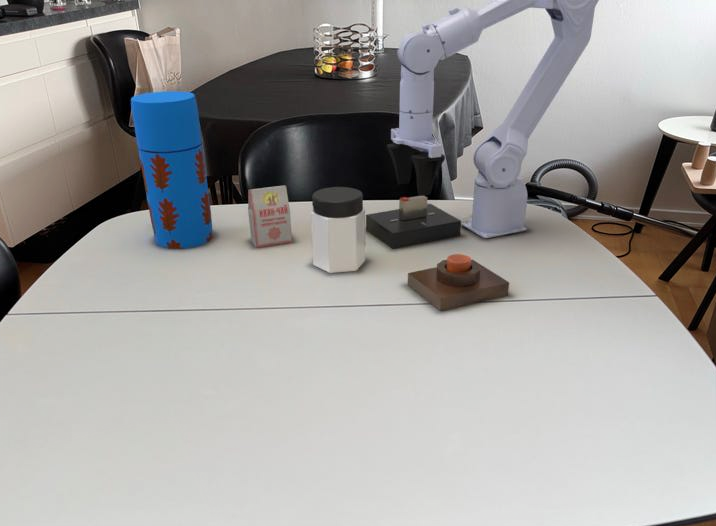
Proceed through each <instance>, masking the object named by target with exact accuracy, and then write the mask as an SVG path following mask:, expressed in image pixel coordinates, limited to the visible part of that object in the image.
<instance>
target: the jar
mask: <svg viewBox="0 0 716 526" xmlns="http://www.w3.org/2000/svg"><path fill="white" fill-rule="evenodd" d="M311 202H312V204H311V205H312V211H311V212H310V224H311V225H310V226H311V245H312V246H311V247H312V248H311V249H312V264H313V266H314V267H316V268H318V269H320V270H323V271H325V272H327V273H328V274H336V273H347V272H348V273H349V272H357V271H358V269H359V268H360V267H361V266H362V265H363V264H364V263H365V262H366V208H365V207H363V206H364V194H363V192H362V191H361V190H360V189H357V188H353V187H347V186H332V187H324V188H321V189H318V190H316V191H315V192H313V194H312V200H311Z"/></svg>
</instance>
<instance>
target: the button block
mask: <svg viewBox="0 0 716 526" xmlns="http://www.w3.org/2000/svg"><path fill="white" fill-rule="evenodd" d="M407 287H409V288H410V289H411V290H413V292H415V293H416V294H417V295H419V296H420V297H421V298H423V299H424V300H425V301H426V302H428V303H429V304H430V305H431V306H433V307H434V308H436V309H437V310H438V311H439V312H444V311H447V310H452V309H456V308H461V307H464V306H469V305H473V304H476V303H477V304H478V303H481V302H487V301H489V300H490V301H491V300H494V299H498V298H502V297H503V298H504V297H507V296H509V288H510V281H508V280H506V279H505V278H503V277H502V276H500V275H499V274H496V273H495V272H493V271H492V270H490V269H489V268H487V267H485V266H484V265H482V264H480V263H479V262H477V261H476V260H474V259H471V267H470V271H468V272H452V271H449V270H447V259H443V260H441V261H440V262H438V263H436V266H435V267H429V268H426V269H421V270H420V269H419V270H415V271H411V272H408V273H407Z"/></svg>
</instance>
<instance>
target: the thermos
mask: <svg viewBox="0 0 716 526" xmlns="http://www.w3.org/2000/svg"><path fill="white" fill-rule="evenodd" d="M130 107H131V109H130V110H131V116H132V120H133V127H134V133H135V138H136V145H137V147H138V149H137V150H138V155H139V159H140V160H139V161H140V167H141V172H142V178H143V183H144V190H145V194H146V195H145V196H146V200H147V206H148V211H149V219H150V222H151V227H152V231H153V235H154V241H155V243H156V244H157V245H158V246H160V247H162V248H166V249H176V250H177V249H178V250H179V249H189V248H195V247H199V246H203V245H205V244H207V243H209V242H210V241H211V240H212V239H213V235H214V234H213V233H214V232H213V221H212V210H211V209H212V208H211V203H210V201H211V200H210V194H209V187H208V179H207V170H206V163H205V156H204V148H203V147H204V146H203V141H202V140H203V139H202V132H201V131H202V130H201V124H200V116H199V108H198V103H197V98H196V94H194V93H193V92H188V91H181V90H180V91H178V90H171V91H170V90H165V91H154V92H145V93H141V94H138V95H135V96H132V97H131V99H130Z"/></svg>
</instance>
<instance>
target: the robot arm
mask: <svg viewBox="0 0 716 526" xmlns="http://www.w3.org/2000/svg"><path fill="white" fill-rule="evenodd" d="M599 1H600V0H490V1H488V2H486V3H485V4H483V5H481V6H479V7H478V8H476V9H475V10H474V9H472V8H470V7H467V6H462V7H461V8H459V7H458V6H453V7H452V8H450V9H449V10H448V13H449V14H447V15H445V16H444V17H441V18H439V19H438V20H436V21H434V22H432V23H428V22H426V23H424V24H422V25H421V29H422V32H421V31H412V32H409V33H408V34H406V35H405V36H403V38H402V40H401V41H400V43H399V46H398V47H399V48H398V49H397V50H396V53H397V58H398V60H399V62H400V63H401V66H400V81H399V108H398V109H399V114H398V117H399V119H398V127H395V128H391V129H390V140H391V141H392V143H388V144H386V150H387V152H388V153H389V155H390V158H391V160H392V163H393V166H394V171H395V176H396V181H397V184H398V185H405V184H410V182H411V178H412V171H413V170H412V168H413V167H414V171H415V176H416V190H417V196H423V195H424V196H428V195H431V193H432V190H433V186H434V183H435V179H436V176H437V174H438V172H439V169H440V168H441V166H442V164H443V163H444V162H445V160H446V156H445V154H443V153H442V151H443V145H442V144H441V143H439V142H438V141H437V140H436V139H435V137H434V136H433V123H434V122H433V121H434V120H433V118H434V97H435V80H434V78H435V76H434V75H435V68H436V67H437V65H438V63H439V61H440V60H441V61H443V60H445V59H447V58H449V57H452V56H453V55H455V54H457V53H459V52H461V51H463V50H464V49H467V48H468V47H470V46H472V45H475V44H476V43H478V42H479V39H480V37H481V34H482V32H483V31H484V30H486V29H487V28H490V27H492V26H494V25H496V24H497V23H501V22H502V21H505V20H507V19H508V18H509V19H510V17H513V16H515V15H517V14H519V13H522V12H524V11H526V10H528V9H531V8H532V9H533V8H534V9H545V11H546V13H547V14H548V16H549V17H550V21H551V25H552V29H553V35H554V37H553V39H552V40H551V42H550V44H549V46H548V48H547V49H546V51H545V53H543V56H542V58H541V59H540V61H539V62H538V64H537V66H536V68H535V69H534V71H532V72H533V73H532V74H531V76H530V77H529V79H528V81H527V82H526V84H525V86H524V88H523V89H522V91H521V92H520V94H519V96H518V97H517V99H516V100H515V102H514V104H513V105H512V107H511V109H510V110H509V112H508V113H507V115H506V117H505V119H504V120H503V122H502V123H501V124H499V125H498V126H497V127H495V128H494V129H493V130H492V131H491V133H490V135H489V136H488V137H487V138H486V139H485V140H483V141H482V142H481V143H479V145H478V146H477V147H476V148H475V150H474V153H473V164H474V166H475V168H476V169H477V170H478V172H477V174H476V176H475V179H474V186H473V196H472V197H473V200H472V212H471V221H466V222H461V227H463V228H465V229H467V230H469V231H471V232H472V233H473V234H476V235H477V236H479V237H481V238H483V239H490V238H494V237H495V238H496V237H501V236H505V235H509V234H510V235H511V234H515V233H521V232H525V231H527V227H526V226H525V222H526V215H527V205H528V190H527V186H526V184H525V183H524V182H523V181H522V180H521V179H519V176H520V174H521V170H522V164H523V160H524V159H525V157H526V156H527V154H528V147H529V139H530V137H531V135H532V134H533V132H534V131H535V129H536V127H537V126H538V124H539V123H540V121H541V120H542V118H543V116H544V115H545V113H546V112H547V110H548V108H549V107H550V106H551V104H552V102H553V100H554V99H555V97H556V96H557V94H558V92H559V91H560V89H561V87H562V86H563V85H564V83H565V82H566V80H567V78H568V77H569V75H570V73H571V72H572V71H573V68H574V67H575V66H576V64H577V62H578V61H579V59H580V57H581V56H582V55H583V52H585V50H586V48H587V46H588V45H589V42H590V40H591V37H592V30H593V24H594V17H595V9H596V7H597V4H598V2H599ZM417 151H419V152H421V154H416V152H417Z"/></svg>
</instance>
